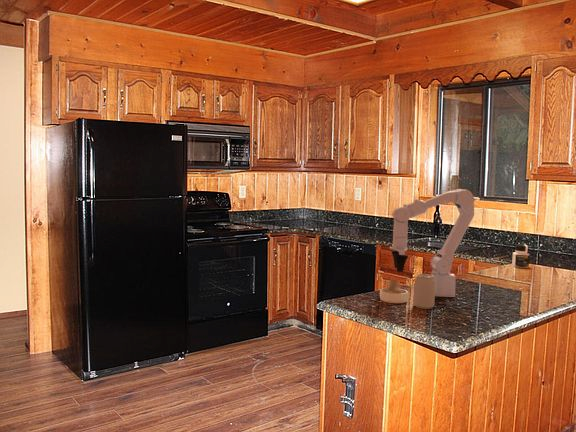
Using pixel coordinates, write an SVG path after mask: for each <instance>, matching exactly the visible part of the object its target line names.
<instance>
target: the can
mask: <svg viewBox="0 0 576 432" xmlns="http://www.w3.org/2000/svg"><path fill="white" fill-rule="evenodd" d="M433 277H434V276H433V275H431V274H429V273H428V274H427V273H421V274H420V273H418V274H416V277H414V285H413V286H414V287H413V288H414V289H413V305H414V306H415V307H416V308H418V309H423V310H431V309H432V308H433V307H434V306H435V301H436V300H435V298H436V296H435V281H436V280H435V279H434V278H433Z"/></svg>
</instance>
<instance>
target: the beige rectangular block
mask: <svg viewBox="0 0 576 432" xmlns="http://www.w3.org/2000/svg"><path fill="white" fill-rule="evenodd" d="M400 282H401V281H400V280H398V279H388V281H387V283H388V284H387V288H388V293H394V294H399V288H400V284H401V283H400Z"/></svg>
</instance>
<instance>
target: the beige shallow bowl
mask: <svg viewBox="0 0 576 432" xmlns="http://www.w3.org/2000/svg"><path fill="white" fill-rule="evenodd" d="M379 300H380V301H382V302H385V303H391V304H405V303H407V302H408V301H409V291H408V290H407V289H404V288H400V287H399V294H394V293H388V287H384V288H380V289H379Z"/></svg>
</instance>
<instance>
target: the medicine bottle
mask: <svg viewBox="0 0 576 432" xmlns="http://www.w3.org/2000/svg"><path fill="white" fill-rule="evenodd" d="M514 248H515V250H514V251H515V252H512V259H511V260H512V262H511V263H512V264H511V265H512V266H513V267H514V268H519V269H521V268H524V269H529V268H530V257H531V256H530V254H529V253H528V249H529V246H528V245H527V244H525V243H518V244H516V245H515V247H514Z"/></svg>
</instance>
